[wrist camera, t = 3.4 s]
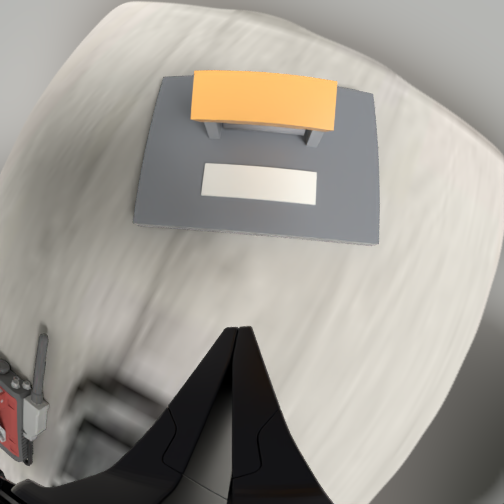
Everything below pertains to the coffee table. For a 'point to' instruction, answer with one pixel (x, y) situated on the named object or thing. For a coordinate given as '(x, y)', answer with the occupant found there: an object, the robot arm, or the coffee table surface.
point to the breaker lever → (264, 101)
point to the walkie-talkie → (22, 408)
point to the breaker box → (261, 174)
